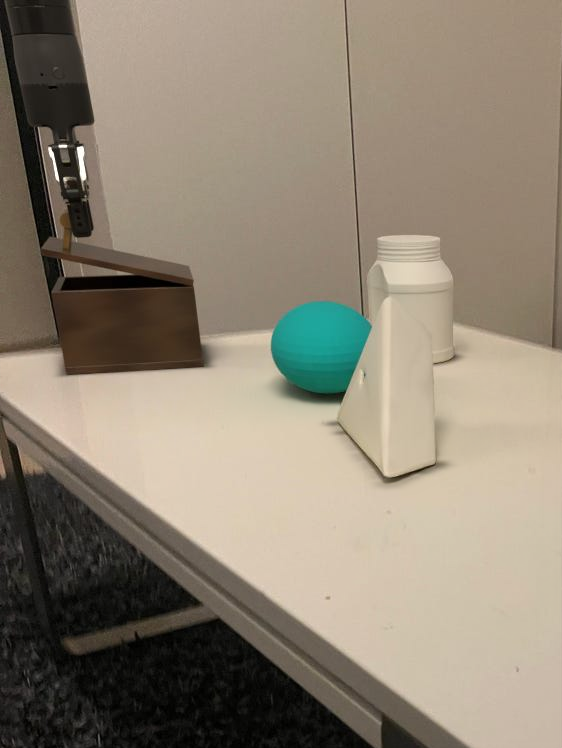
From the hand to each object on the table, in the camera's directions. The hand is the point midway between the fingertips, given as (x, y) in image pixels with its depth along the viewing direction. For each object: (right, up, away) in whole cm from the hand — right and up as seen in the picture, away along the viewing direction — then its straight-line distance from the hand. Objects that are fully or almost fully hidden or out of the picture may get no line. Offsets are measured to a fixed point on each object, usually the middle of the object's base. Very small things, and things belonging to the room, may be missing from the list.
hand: (84, 233), depth 124 cm
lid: (+3, -3, +3) cm, 5 cm away
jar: (+40, -12, +11) cm, 44 cm away
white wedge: (+42, -32, -27) cm, 59 cm away
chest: (+4, -13, +8) cm, 16 cm away
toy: (+32, -21, -6) cm, 39 cm away
